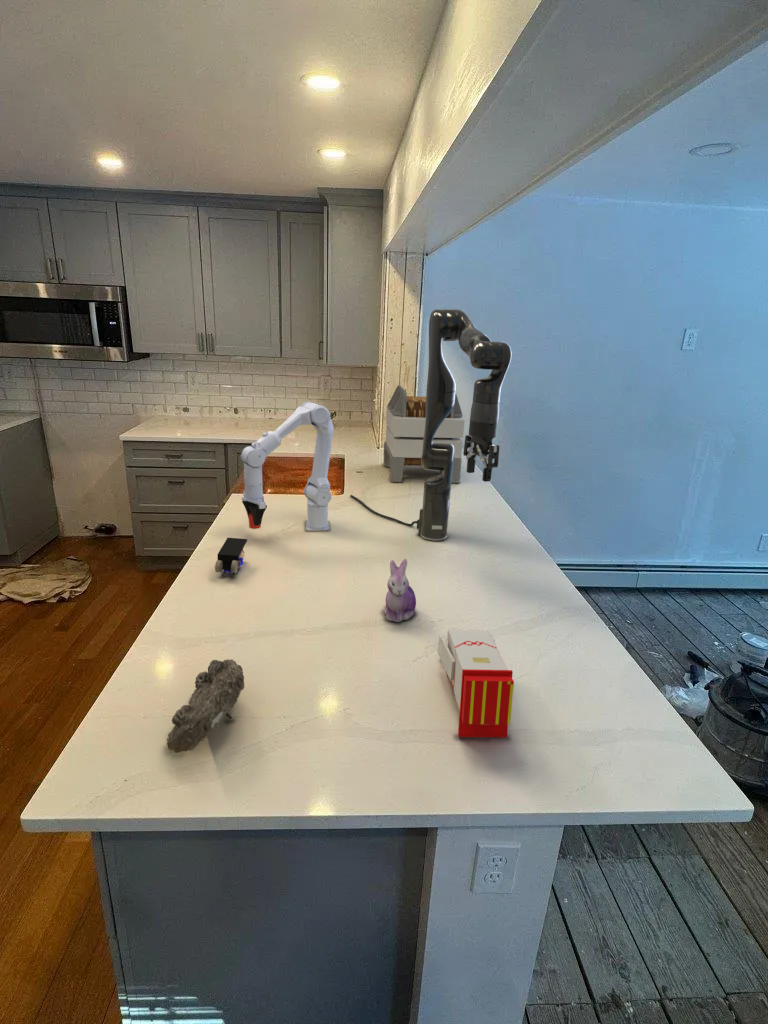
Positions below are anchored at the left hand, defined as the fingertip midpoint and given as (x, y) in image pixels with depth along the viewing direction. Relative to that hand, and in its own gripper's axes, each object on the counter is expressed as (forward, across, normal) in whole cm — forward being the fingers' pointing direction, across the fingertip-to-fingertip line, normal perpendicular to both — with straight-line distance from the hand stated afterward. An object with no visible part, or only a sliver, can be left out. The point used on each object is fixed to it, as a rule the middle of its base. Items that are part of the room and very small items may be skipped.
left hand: (255, 522), depth 188 cm
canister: (+1, 0, 0) cm, 1 cm away
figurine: (+6, +65, +13) cm, 66 cm away
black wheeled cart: (+6, +19, -15) cm, 25 cm away
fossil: (+6, +78, -40) cm, 88 cm away
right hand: (-26, +58, +43) cm, 77 cm away
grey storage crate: (+6, -40, +100) cm, 108 cm away
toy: (+6, +98, +8) cm, 99 cm away
